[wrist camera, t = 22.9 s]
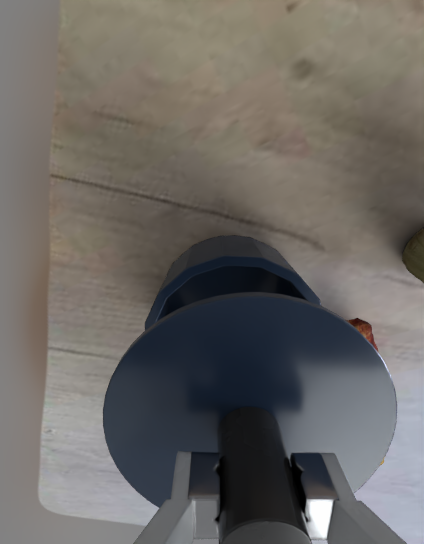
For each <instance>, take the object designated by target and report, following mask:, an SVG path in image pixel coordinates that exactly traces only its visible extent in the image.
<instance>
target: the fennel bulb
mask: <svg viewBox="0 0 424 544" xmlns="http://www.w3.org/2000/svg"><path fill="white" fill-rule="evenodd" d="M402 261H403V263H404V264H405V265H406V268H407V270H408V271H409V272H410V273H411V274H413V275H414V276H415V277H416V278H418V279H420V280H421V281H422V282H423V283H424V228H423V229H421V230H420V231H419V232H418V233H416V234H415V235H414V236H413V237H412V238H411V240H410V241H409V242H408V243H407V245H406V247H405V249H404V252H403V255H402Z"/></svg>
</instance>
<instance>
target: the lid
mask: <svg viewBox="0 0 424 544" xmlns="http://www.w3.org/2000/svg"><path fill="white" fill-rule="evenodd" d="M396 419H397V401H396V393H395V388H394V385H393V381H392V378H391V375H390V373H389V371H388V369H387V367H386V365H385V363H384V360H383V359H382V357H381V356H380V355H379V353H378V352H377V350H376V349H375V348H374V346H373V345H372V344H371V343H370V342H369V341H368V340H367V339H366V338H365V337H364V336H363V335H362V334H361V333H360V332H359V331H358V330H357V329H356V328H355V327H354V326H353V325H351V324H350V323H349V322H347V321H346V320H345V319H343V318H342V317H340V316H339V315H337V314H335V313H333V312H332V311H330V310H328V309H326V308H324V307H322V306H320V305H317V304H314V303H312V302H309V301H306V300H304V299H300V298H296V297H291V296H287V295H283V294H273V293H264V292H244V293H233V294H226V295H219V296H215V297H211V298H207V299H203V300H200V301H197V302H194V303H192V304H189V305H187V306H184V307H182V308H179V309H177V310H175V311H174V312H172V313H170V314H168V315H167V316H165V317H163V318H161V319H160V320H158V321H157V322H156V323H154V324H153V325H152V326H150V327H149V328H148V329H147V330H145V331H144V332H143V333H142V334H141V335H140V336H139V337H138V338H137V339H136V340H135V341H134V342H133V343H132V345H131V346H130V347H129V349H128V350H127V351H126V353H125V354H124V355H123V357H122V358H121V360H120V362H119V364H118V366H117V368H116V370H115V371H114V373H113V375H112V377H111V379H110V382H109V385H108V388H107V391H106V395H105V401H104V407H103V427H104V433H105V439H106V443H107V446H108V449H109V452H110V455H111V456H112V458H113V460H114V462H115V464H116V466H117V468H118V469H119V471H120V472H121V474H122V475H123V476H124V478H125V479H126V480H127V481H128V482H129V484H130V485H131V486H132V487H133V488H134V489H135V490H136V491H137V492H138V493H140V494H141V495H142V496H143V497H144V498H146V499H147V500H148V501H150V502H151V503H153V504H154V505H156V506H157V507H159V508H160V507H161V506H162V504H163V503H164V502H165V500H166V499H171V493H172V485H173V478H174V471H175V463H176V456H177V453H178V451H186V452H217V453H219V477H220V514H219V515H218V517H219V544H312V542H311V538H310V535H309V531H308V527H307V524H306V520H305V516H304V513H303V509H302V505H301V502H300V498H299V494H298V490H297V487H296V483H295V479H294V476H293V472H292V468H291V464H290V455H291V453H305V452H318V453H334V454H335V455H336V456H337V459H338V461H339V463H340V465H341V467H342V470H343V472H344V474H345V476H346V478H347V481H348V483H349V485H350V487H351V489H352V492H353V493H355V492H356V491H357V490H358V489H360V488H361V487H362V486H363V485H364V484H365V482H366V481H367V480H368V479H369V478H370V477H371V476H372V475H373V473H374V472H375V471H376V469H377V468H378V467H379V466H380V464H381V462H382V460H383V459H384V457H385V455H386V453H387V452H388V449H389V446H390V444H391V441H392V439H393V435H394V431H395V426H396Z"/></svg>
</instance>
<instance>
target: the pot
mask: <svg viewBox="0 0 424 544" xmlns="http://www.w3.org/2000/svg"><path fill="white" fill-rule="evenodd" d="M244 292H264V293H273V294H283V295H287V296H291V297H296V298H300V299H304V300H306V301H309V302H312V303H314V304H317V305H320V306H321V302H320V299H319V298H318V297H317V296H316V295H315V293H314V292H313V291H312V290H311V289H310V288H309V286H308V285H307V284H306V283H305V282H304V281H303V279H302V278H301V277H300V276H299V275H298V274H297V272H296V271H295V270H294V269H293V268H292V267H291V266H290V265H289V264H288V262H287V261H286V260H285V259H284V258H283V257H282V256H281V255H280V253H279V252H278V251H277V250H275V249H274V248H272V247H270V246H268V245H266V244H264V243H263V242H260V241H258V240H255V239H253V238H251V237H244V236H235V235H231V236H218V237H214V238H210V239H207V240H205V241H202V242H200V243H198V244H195V245H193V246H192V247H191V248H189V249H188V250H187V251H186V252H184V253H183V254H182V255H181V256H180V257H179V258H178V259H177V260H176V261H175V262H174V263H173V264H172V266H171V268H170V270H169V272H168V274H167V276H166V278H165V280H164V282H163V284H162V286H161V288H160V291H159V293H158V295H157V297H156V299H155V301H154V304H153V306H152V308H151V310H150V313H149V315H148V317H147V319H146V322H145V330H147V329H148V328H149V327H150V326H152V325H153V324H154V323H156V322H157V321H158V320H160V319H161V318H163V317H165V316H167V315H168V314H170V313H172V312H174V311H175V310H177V309H179V308H182V307H184V306H187V305H189V304H192V303H194V302H197V301H200V300H203V299H207V298H211V297H215V296H219V295H226V294H233V293H244Z"/></svg>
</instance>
